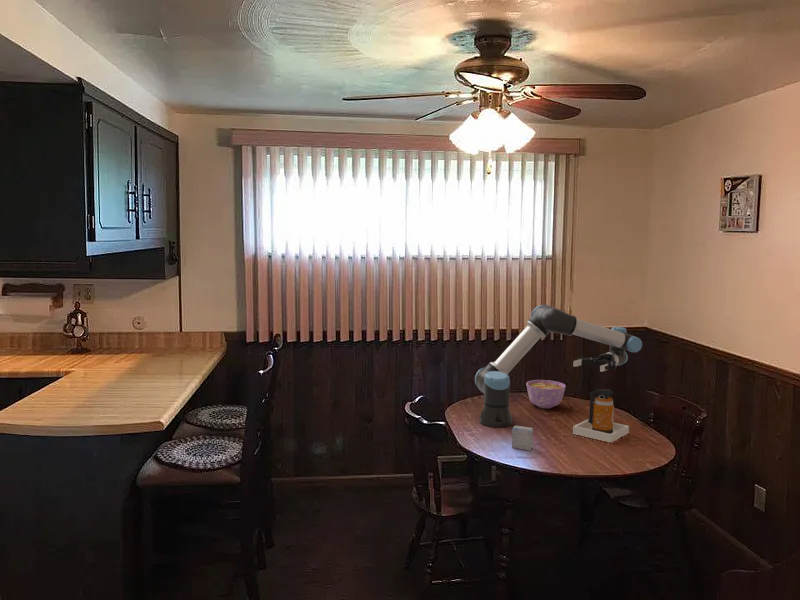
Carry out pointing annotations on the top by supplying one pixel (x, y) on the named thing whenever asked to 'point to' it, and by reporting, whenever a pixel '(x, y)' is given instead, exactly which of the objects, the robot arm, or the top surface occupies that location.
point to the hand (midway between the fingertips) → (587, 366)
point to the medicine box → (522, 437)
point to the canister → (601, 411)
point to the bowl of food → (545, 392)
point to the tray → (586, 430)
